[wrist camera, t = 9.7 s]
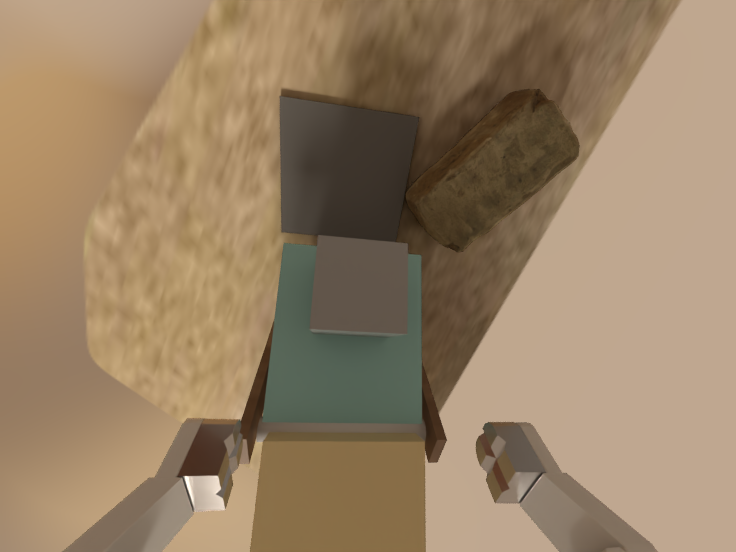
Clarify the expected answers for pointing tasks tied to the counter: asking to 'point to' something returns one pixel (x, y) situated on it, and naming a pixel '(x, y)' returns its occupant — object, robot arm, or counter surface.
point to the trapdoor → (340, 429)
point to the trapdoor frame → (257, 400)
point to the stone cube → (360, 288)
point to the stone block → (493, 169)
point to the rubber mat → (343, 169)
